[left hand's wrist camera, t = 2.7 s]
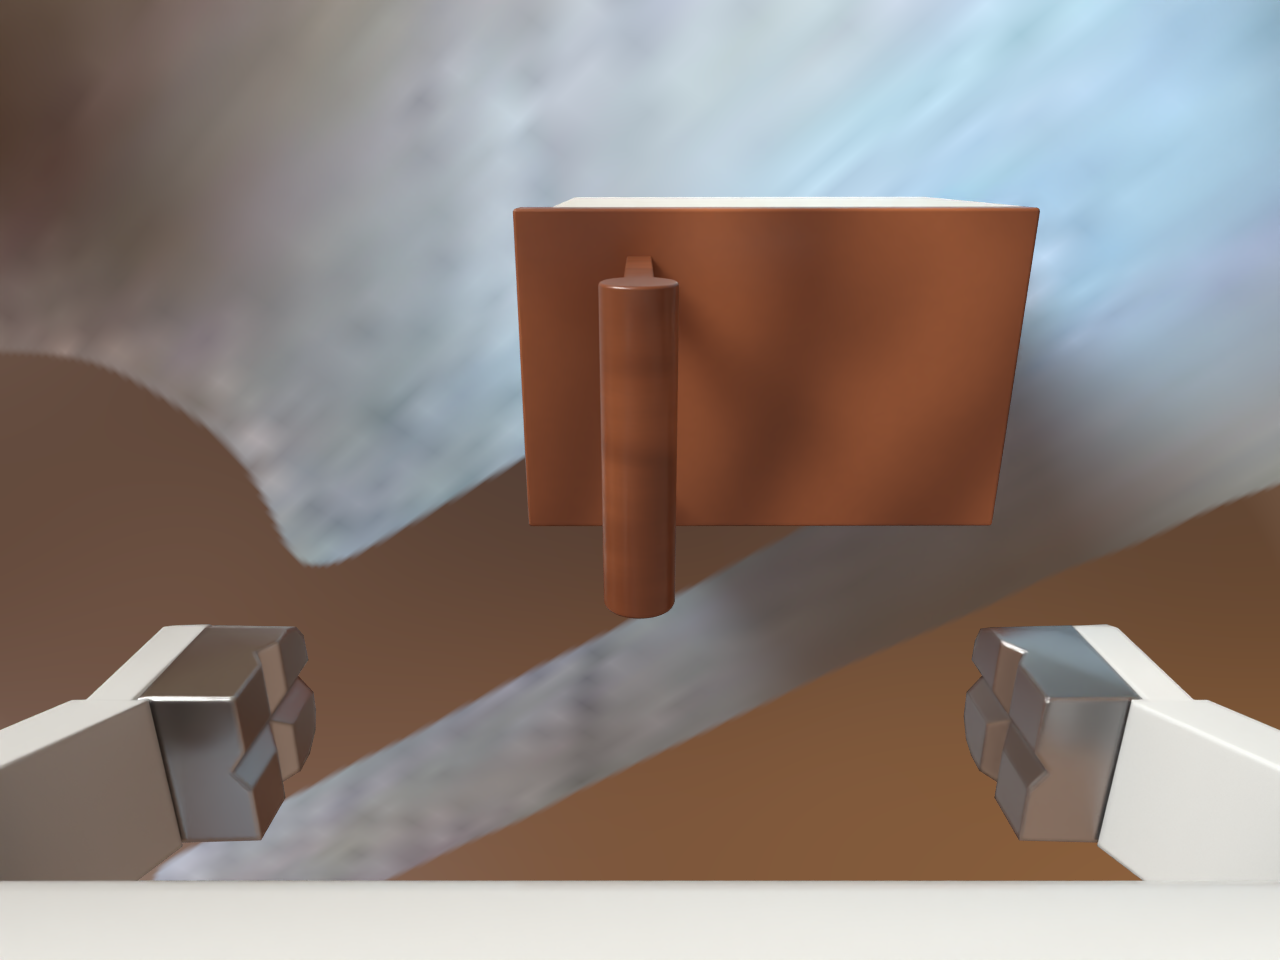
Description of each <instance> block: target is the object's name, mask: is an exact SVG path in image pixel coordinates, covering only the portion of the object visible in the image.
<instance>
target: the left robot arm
mask: <svg viewBox="0 0 1280 960" xmlns="http://www.w3.org/2000/svg"><path fill="white" fill-rule="evenodd" d="M307 661H308V656H307V651H306V646H305V641H304V636H303V634H302V633H301V632H300V631H299V630H298V629H297V628H296V627H272V626H219V625H216V626H212V625H175V626H167V627H163V628H162V629H161V630H160V631H159V632H158V633H157V634H156V635H154V636H153V637H152V638H151V639H150V640H149V641H148V642H147V643H146V644H145V645H144V646H143V647H142V648H141V649H140V650H139V651H138V652H136V653H135V654H134V655H133V656H132V657H131V658H130V659H129V660H128V661H127V662H126V663H125V664H124V665H123V666H122V667H121V668H119V669H118V670H117V671H116V672H115V673H114V674H113V675H112V676H111V677H110V678H109V679H108V680H107V681H106V682H105V683H104V684H103V685H101V686H100V687H99V688H98V689H97V690H96V691H95V692H94V693H93V694H92V695H91V696H90V697H89V698H88V699H87V700H71V701H69V702H66V703H64V704H62V705H59V706H57V707H54V708H52V709H50V710H47V711H45V712H42V713H40V714H38V715H35V716H33V717H30V718H28V719H26V720H23V721H21V722H19V723H16V724H14V725H11V726H9V727H7V728H4V729H2V730H0V960H1280V730H1278V729H1276V728H1273V727H1271V726H1268V725H1266V724H1264V723H1261V722H1259V721H1256V720H1254V719H1252V718H1249V717H1247V716H1245V715H1242V714H1240V713H1237V712H1235V711H1233V710H1230V709H1228V708H1226V707H1223V706H1221V705H1218V704H1216V703H1214V702H1211V701H1209V700H1193V699H1192V698H1191V697H1190V696H1189V695H1188V694H1187V693H1186V692H1185V691H1184V690H1183V689H1182V688H1181V687H1180V686H1179V685H1177V683H1175V682H1174V681H1173V680H1172V679H1171V678H1170V677H1169V676H1168V675H1167V674H1166V673H1165V672H1164V671H1163V670H1162V669H1161V668H1160V667H1159V666H1158V665H1156V664H1155V663H1154V662H1153V661H1152V660H1151V659H1150V658H1149V657H1148V656H1147V655H1146V654H1145V653H1144V652H1143V651H1142V650H1141V649H1140V648H1139V647H1137V646H1136V645H1135V644H1134V643H1133V642H1132V641H1131V640H1130V639H1129V638H1128V637H1127V636H1126V635H1125V634H1124V633H1123V632H1122V631H1120V629H1118V628H1116V627H1113V626H1110V625H1107V624H1103V625H1080V626H1030V627H990V628H983V629H980V631H979V633H978V635H977V638H976V640H975V644H974V650H973V655H972V661H973V662H974V664H975V665H976V667H977V668H978V670H979V671H980V673H981V675H982V676H981V677H980V678H979V680H978V681H977V682H976V683H975V684H974V685H973V686H972V687H971V688H970V689H969V690H968V691H967V694H966V702H965V711H964V723H965V733H966V740H967V744H968V747H969V750H970V753H971V756H972V758H973V760H974V762H975V763H976V765H977V767H978V769H979V771H981V772H982V773H984V774H985V775H987V776H989V777H990V778H992V779H993V780H995V781H996V782H997V786H996V792H995V799H996V801H997V803H998V804H999V806H1000V808H1001V810H1002V811H1003V813H1004V815H1005V816H1006V818H1007V820H1008V822H1009V823H1010V825H1011V827H1012V829H1013V830H1014V832H1015V834H1016V836H1017V837H1018V839H1019V840H1025V841H1062V842H1098V845H1097V846H1098V847H1099V848H1101V849H1102V850H1103V851H1105V852H1106V853H1107V854H1109V855H1110V856H1111V857H1112V858H1114V859H1115V860H1116V861H1118V862H1119V863H1121V864H1122V865H1123V866H1124V867H1126V868H1127V869H1128V870H1130V871H1131V872H1132V873H1134V874H1135V875H1136V876H1137V877H1139V878H1140V879H1141V880H1143V881H138V880H139V879H140V878H142V877H143V876H144V875H145V874H147V873H148V872H149V871H151V870H152V869H153V868H155V867H156V866H157V865H159V864H160V863H161V862H163V861H164V860H165V859H167V858H168V857H169V856H170V855H172V854H173V853H174V852H176V851H177V850H178V849H180V848H181V847H182V842H217V841H252V840H261V839H262V838H263V836H264V834H265V832H266V831H267V829H268V827H269V825H270V824H271V822H272V820H273V818H274V817H275V815H276V813H277V811H278V810H279V808H280V806H281V804H282V803H283V801H284V799H285V792H284V786H283V781H285V780H287V779H288V778H290V777H291V776H293V775H295V774H296V773H298V772H299V771H301V769H302V767H303V765H304V763H305V761H306V760H307V758H308V756H309V754H310V750H311V746H312V742H313V738H314V734H315V725H316V708H315V701H314V694H313V691H312V690H311V689H310V688H309V687H308V686H307V685H306V684H305V683H304V682H303V681H302V680H301V678H300V677H299V676H298V675H299V673H300V671H301V670H302V668H303V667H304V665H305V664H306V662H307Z"/></svg>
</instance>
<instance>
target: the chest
mask: <svg viewBox="0 0 1280 960" xmlns="http://www.w3.org/2000/svg"><path fill="white" fill-rule="evenodd" d="M1003 206H1014V205H1004V204H994V203H983V202H973V201H962V200H952V199H941V198H931V197H575V198H573V199H570V200H568V201H566V202H563V203H561V204H559V205H556V206H554V207H1003Z"/></svg>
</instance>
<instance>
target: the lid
mask: <svg viewBox="0 0 1280 960" xmlns="http://www.w3.org/2000/svg"><path fill="white" fill-rule="evenodd" d="M1039 213H1040V209H1039V208H1035V207H1024V206H1003V207H519V208H516V209H514V211H513V222H514V241H515V261H516V281H517V301H518V321H519V340H520V360H521V380H522V400H523V419H524V439H525V459H526V478H527V498H528V518H529V525H530V526H603V571H604V603H605V605H606V607H607V608H608V609H609V610H610V611H611V612H613V613H615V614H617V615H620V616H623V617H627V618H637V619H641V618H651V617H656V616H659V615H662V614H664V613H666V612H668V611H669V610H670V609H671V608H672V606H673V605H674V602H675V550H676V526H923V525H991V524H992V519H993V512H994V506H995V499H996V493H997V486H998V480H999V473H1000V467H1001V460H1002V454H1003V447H1004V441H1005V434H1006V428H1007V421H1008V415H1009V408H1010V402H1011V395H1012V389H1013V382H1014V376H1015V369H1016V363H1017V356H1018V350H1019V343H1020V337H1021V330H1022V324H1023V317H1024V311H1025V304H1026V298H1027V291H1028V285H1029V278H1030V272H1031V265H1032V259H1033V252H1034V246H1035V239H1036V233H1037V226H1038V220H1039Z"/></svg>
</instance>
